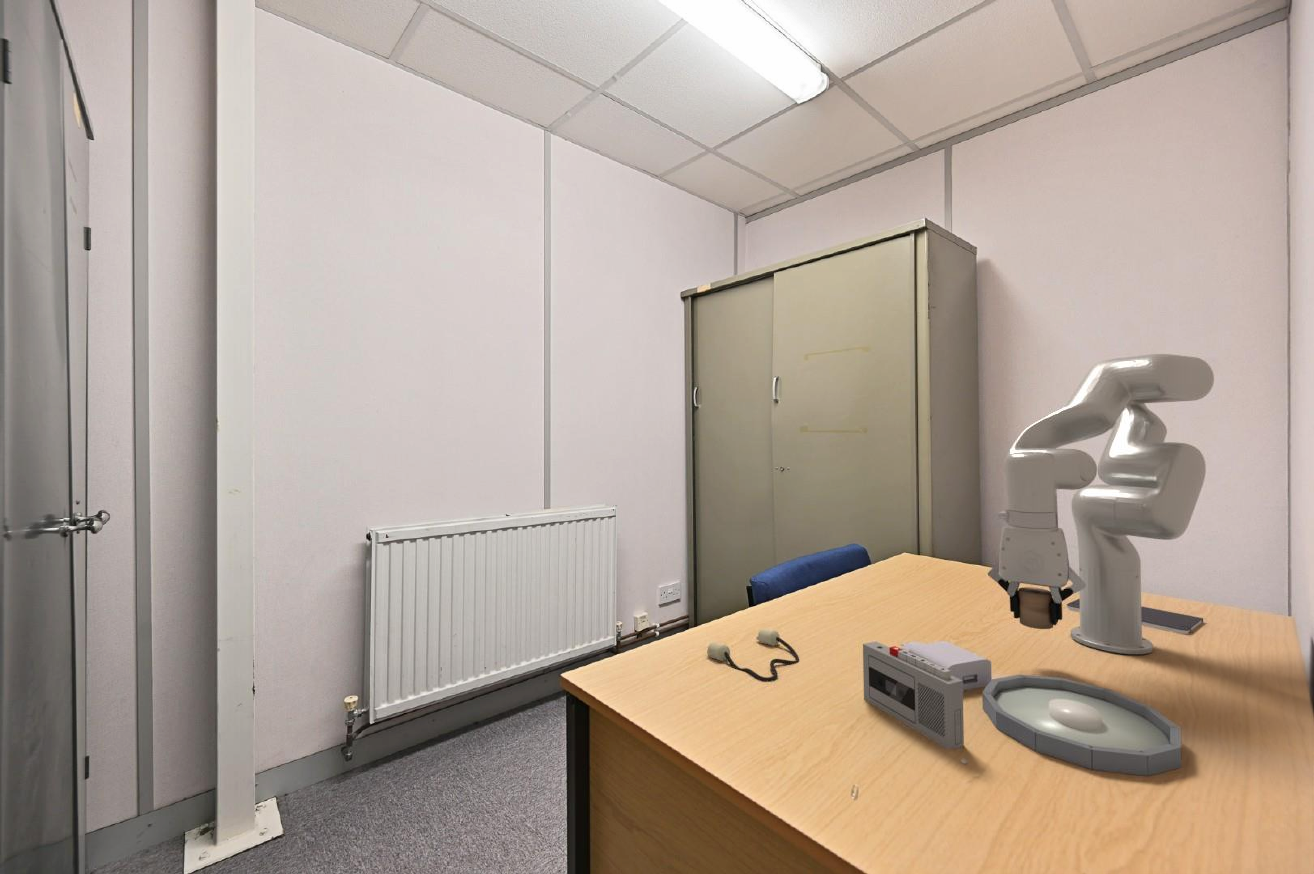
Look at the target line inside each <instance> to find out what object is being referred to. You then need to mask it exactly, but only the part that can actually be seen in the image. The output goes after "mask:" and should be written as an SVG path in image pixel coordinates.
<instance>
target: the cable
mask: <svg viewBox="0 0 1314 874" xmlns="http://www.w3.org/2000/svg"><path fill="white" fill-rule="evenodd" d="M755 638H756V640H758V642H759V644H763V643H764V645H766V644H768V646H770V645H771V647H776V646H777V645H778V644H779V643H780V644H781V645H783V646H784V647H785V648H786V649H788V650H789V652H791V654H792V656H794V660H790V659H789V660H787V659H783V658H782V659H781V658H772V660H771V661H770V663H769V666H770V669H771V672H772V674H773V675H772V676H769V677H768V676H767V677H765V676H762V675H760V674H758V673H756V672H755V671H754V670H753V669H750V668H747V667H743V668H742V667H739V666H738V665H737V664H736V663H735V662H734V661H733V659H732V657H731V656H730V655H731V650H730V647H729V646H728V645H727V644H724V643H721V642H717V641H711V642H710V643H709V645H708V646H707V650H706V654H707V655H708V657H710V658H712V659H714V660H717V661H719V662H726V661H727V662H728V663H729V665H730V666H731V667H732V668H733V669H735V670H737V671H740V672H744V673H747V674H750V675H751V676H752V677H754V678H755V679H757V680H759V681H761V682H773V681H775V680H777V679H778V675H779V674H778V671H777V669H776V666H775V664H784V665H795V664H798V663H800V658H799V655H798V654H797V653H798V652H796V651H795V649H794V648H793V647H792V646H791V645H790V644H789V643H787V642H786V641H785V640H784V639H782V638H781V637H780V634H779V632H778V630H774V629H770V628H765V627H764V628H763V627H762V628H760V630H759V631H758V633H757V636H756V637H755ZM775 645H776V646H775Z"/></svg>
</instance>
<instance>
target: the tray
mask: <svg viewBox="0 0 1314 874" xmlns="http://www.w3.org/2000/svg"><path fill="white" fill-rule="evenodd" d="M981 695H982V697H981V698H982V710H983V711H984V713H985V714H986V715H987V717H988V718H989V720H990V722H991V723H992V724H993V725H994V727H995V729H996V730H999V731H1000V732H1002V733H1004V734H1005V735H1006V736H1009V737H1010V738H1012V739H1014V740H1016V741H1018V742H1019V743H1021V744H1023V745H1024V746H1026V747H1028V748H1029V749H1031V750H1033V751H1034V752H1036V753H1040V754H1044V755H1046V756H1049V757H1052V758H1055V759H1058V760H1061V761H1065V762H1068V763H1071V764H1073V765H1077V766H1080V767H1083V768H1085V769H1088V770H1089V769H1090V770H1092V771H1099V772H1100V771H1101V772H1110V773H1117V774H1118V773H1119V774H1126V775H1127V774H1128V775H1136V776H1144V777H1149V776H1154V775H1157V774H1161V773H1164V772H1168V771H1172V770H1175V769H1179V768H1182V733H1181V732H1182V730H1181V728H1180V727H1179V726H1178V725H1177V724H1175V723H1174V722H1172V721H1171V720H1170V719H1168V717H1166V716H1165V715H1164V714H1161V712H1159V711H1158V710H1157V709H1156V708H1154V707H1152V706H1150V705H1148V704H1145V703H1143V702H1141V701H1138V700H1137V699H1135V698H1131V697H1128V696H1126V695H1123V694H1121V693H1119V692H1116V691H1114V690H1111V689H1108V688H1105V687H1101V686H1098V685H1093V684H1089V683H1088V684H1087V683H1085V682H1080V681H1078V680H1077V681H1075V680H1072V679H1068V678H1064V677H1058V676H1057V677H1056V676H1046V675H1034V674H1033V675H1032V674H1031V675H1030V674H1022V673H1021V674H1014V675H1009V676H1005V677H998V678H993V679H992V680H991V681H990V682H989V684H988V685H987V686H985V688H984V689H983V690H982V692H981Z"/></svg>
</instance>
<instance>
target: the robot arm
mask: <svg viewBox="0 0 1314 874" xmlns="http://www.w3.org/2000/svg"><path fill="white" fill-rule="evenodd" d="M1214 381H1215V375H1214V371H1213V369H1212V367H1211V366H1210V364H1209V363H1208V362H1207V361H1206V360H1204V359H1201V358H1199V357H1196V356H1187V355H1181V354H1180V355H1178V354H1169V353H1151V354H1144V355H1136V356H1135V355H1134V356H1127V357H1126V356H1125V357H1118V358H1111V359H1106V360H1102V361H1100V362H1097V363H1096V364H1094V365H1093V366H1092V367H1090V369H1089V370H1088V371H1087V373H1086V374H1085V375H1084V377H1083V379H1082V381H1081V382H1080V384H1079V385H1078V386H1077V388H1076V390H1075V391H1074V393H1073V394H1072V396H1071V397H1070V399H1069V400H1068V401H1067V403H1066V405H1064V406H1063V407H1061V408H1059V409H1058V410H1056V411H1054V412H1052V413H1050V414H1048V415H1047V416H1044V417H1042V418H1041V419H1039V420H1037V421H1036V422H1034V423H1033V424H1031V425H1029V426H1028V427H1026V429H1024V430H1023V431H1022V432H1020V434H1019V435H1018V437H1017V438H1016V439H1015V441H1014V443H1013V444H1012V445H1011V447H1010V449H1009V450H1008V452H1007V454H1006V457H1005V460H1004V463H1003V470H1004V471H1003V472H1004V475H1005V484H1006V485H1005V489H1006V508H1007V509H1006V510H1003V511H998V514H997V515H998V516H997V517H998V519H1001V520H1005V522H1006V524H1005V525H1002V528H1001V533H1000V541H999V557H998V558H999V561H998V562H997V563H996V564H995V565H994V566H993V567H992V568H991V569H990V570H989V571H988V572H987V575H988V577H989V578H991V579H992V580H993V581H995V582H996V583H997V584H998V585H999V586H1000V587H1001V588H1002V589H1003V590H1004V591H1005V592H1006V593H1007V596H1009V611H1010V612H1012V613H1013V617H1014V619H1020V618H1019V592H1018V589H1019V588H1020V584H1024V585H1031V586H1032V585H1033V586H1039V587H1047V588H1048V589H1049V591H1050V592H1051V594H1052V602H1050V615H1051V624H1052V625H1053V626H1056V625H1058V622H1059V621H1062V620H1063V601H1065V600H1066V599H1068V598H1069V597H1070V596H1073V595H1074V594H1077V593H1078V592H1079V598H1080V612H1079V626H1076V627H1072V629H1070V637H1071V638H1072V639H1073V640H1075V642H1077V643H1079V644H1081V645H1083V646H1087V647H1091V648H1093V649H1095V650H1096V649H1097V650H1100V651H1105V652H1111V653H1115V654H1123V655H1146V654H1147V655H1148V654H1150V653H1152V652H1153V651H1154V645H1153V643H1152V642H1151V641H1150V639H1148V638H1145V637H1143V628H1142V627H1143V626H1142V613H1141V606H1142V572H1141V571H1142V569H1141V567H1142V565H1141V564H1142V563H1141V557H1140V553H1139V552H1138V550H1137V548H1136V547H1135V545H1134V544H1133V542H1132V541H1131V540H1130V539H1129V537H1128V536H1130V537H1138V538H1145V539H1146V538H1147V539H1153V540H1154V539H1155V540H1161V541H1163V540H1164V541H1165V540H1166V541H1168V540H1169V541H1171V540H1176V539H1178V538H1180V537H1181V536H1182V535H1184V534H1185V532H1186V530H1187V528H1189V527H1188V526H1189V524H1190V521H1191V519H1192V517H1193V513H1194V510H1195V508H1196V505H1197V502H1198V500H1199V496H1200V493H1201V491H1202V488H1203V486H1204V483H1205V482H1204V481H1205V477H1206V471H1207V470H1206V469H1207V468H1206V460H1205V457H1204V455H1203V453H1202V452H1201V450H1199V448H1197V447H1196V446H1194V445H1193V444H1189V443H1184V442H1178V441H1177V442H1173V441H1172V442H1170V441H1169V442H1167V441H1166V442H1165V440H1166V437H1167V435H1168V429H1167V427H1166V426H1167V425H1166V424H1165V423H1164V422H1163V420H1162V419H1161V418H1160V417H1159V416H1158V415H1156V413H1154V412H1153V411H1152V410H1150V409H1149V407H1148V406H1147V405H1146V404H1154V403H1155V404H1158V403H1160V404H1161V403H1174V402H1193V401H1199V400H1201V399H1203V398H1205V397H1206V396H1207V395H1208V394H1210V392H1211V391H1212V388H1213V387H1214ZM1109 431H1111V432H1110V434H1109V437H1108V439H1107V441H1106V443H1105V444H1106V445H1105V446H1104V449H1103V451H1102V454H1101V456H1100V458H1099V462H1098V465H1097V463H1096V461H1095V459H1094V458H1093V456H1092V455H1091V454H1089V453H1088V452H1086V451H1083V450H1081V449H1076V448H1060V447H1063V446H1068V445H1070V444H1073V443H1078V442H1082V441H1086V440H1089V439H1090V440H1091V439H1093V438H1096V437H1099V436H1101V435H1105V434H1106V433H1108V432H1109ZM1097 475H1098V478H1099V479H1100V480H1101V482H1102V483H1104V484H1092V483H1093V482H1094V480H1095V479H1096V476H1097ZM1058 490H1065V491H1066V490H1068V491H1069V490H1070V491H1071V490H1072V491H1073V490H1074V491H1075V490H1077V491H1076V492H1075V493H1074V494H1073V496H1072V498H1071V513H1072V517H1073V521H1074V524H1075V529H1076V535H1077V544H1078V545H1077V547H1078V574H1077V573H1076V572H1075V570H1073V568H1072V567H1071V566H1070V560H1069V552H1068V546H1067V541H1066V536H1065V532H1064V529H1063V528H1061V527H1059V519H1058V518H1059V517H1058V514H1059V512H1058ZM1068 581H1070V582H1071V583H1072V584H1070V585H1069V586H1067V587H1065V586H1066V585H1067V584H1068ZM1064 587H1065V588H1064ZM1062 588H1063V589H1062Z"/></svg>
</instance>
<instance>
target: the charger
mask: <svg viewBox="0 0 1314 874" xmlns="http://www.w3.org/2000/svg"><path fill="white" fill-rule="evenodd" d="M900 645H901V648H900V649H903V650H905V651H907V652H909V653H912V654H914V655H916V656H918V657H921V658H923V659H925V660H927V661H930V662H932V663H934V664H937V665H939V666H941V667H943V668H946V669H948V670H950V671H951V675H952V676H954V677H956V678H958V679H960V680H963V691H967V690H971V689H972V690H973V689H977V688H983V687H986V686H987V685H988V684H989V682H990V681H991V680H992V677H993V676H992V662H991V660H989V659H987V658H985V657H984V656H981V655H978V654H977V653H974V652H971V651H969V650H967V649H964V648H962V647H961V646H958V645H956V644H954V643H952V642H950V641H946V640H941V641H934V642H927V643H922V642H921V641H919V640H918V641H911V642H910V641H908V642H906V643H904V642H900Z"/></svg>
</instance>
